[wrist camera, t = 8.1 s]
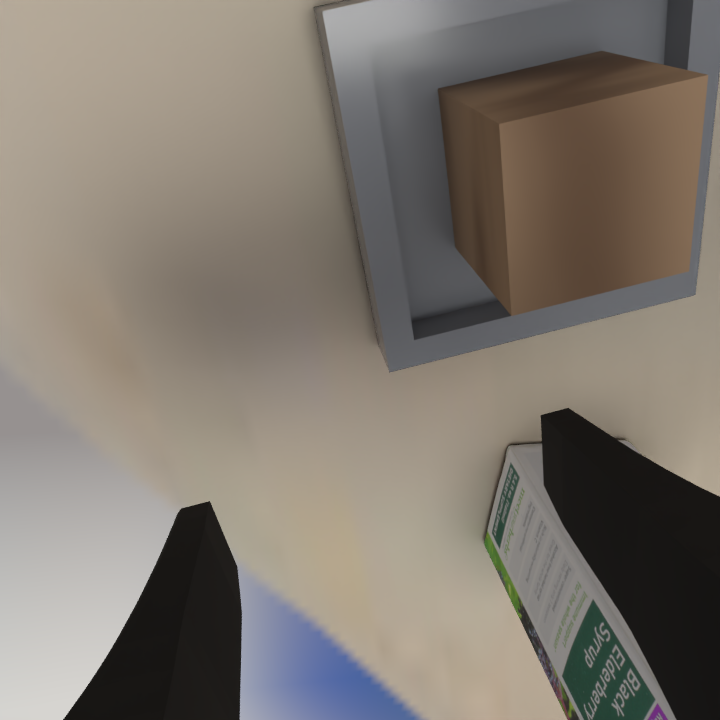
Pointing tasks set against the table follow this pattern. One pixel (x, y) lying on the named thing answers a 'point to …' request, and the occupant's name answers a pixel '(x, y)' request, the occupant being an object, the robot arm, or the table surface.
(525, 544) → the syrup box
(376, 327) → the grey dish
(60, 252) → the table surface
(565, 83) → the walnut cube
